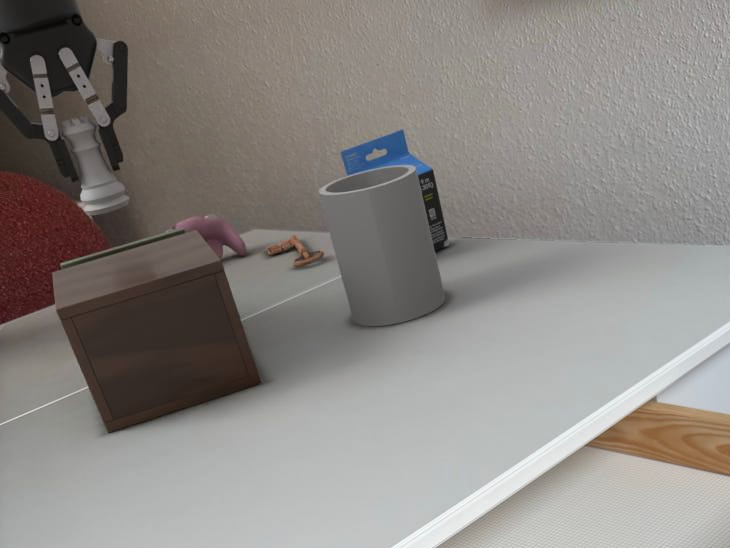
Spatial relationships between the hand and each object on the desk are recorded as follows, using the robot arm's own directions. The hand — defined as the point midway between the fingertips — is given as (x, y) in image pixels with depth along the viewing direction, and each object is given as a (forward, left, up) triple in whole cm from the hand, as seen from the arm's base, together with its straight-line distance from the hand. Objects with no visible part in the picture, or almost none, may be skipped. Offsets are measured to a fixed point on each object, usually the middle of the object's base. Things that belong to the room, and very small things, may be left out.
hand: (95, 174), depth 103 cm
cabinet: (+7, -11, -17) cm, 21 cm away
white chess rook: (0, 0, -3) cm, 3 cm away
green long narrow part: (+1, -1, -16) cm, 16 cm away
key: (+6, +29, -17) cm, 34 cm away
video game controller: (-7, +32, -17) cm, 37 cm away
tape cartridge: (+23, +19, -17) cm, 34 cm away
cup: (+26, +1, -17) cm, 31 cm away
